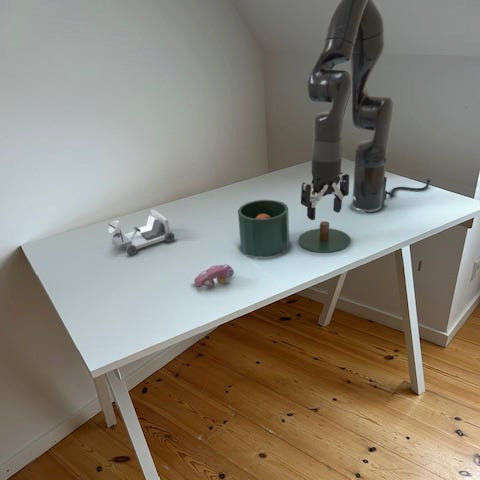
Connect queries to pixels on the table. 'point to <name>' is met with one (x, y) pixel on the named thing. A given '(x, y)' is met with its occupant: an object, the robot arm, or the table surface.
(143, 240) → the toy car
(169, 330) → the table surface
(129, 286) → the table surface
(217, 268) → the video game controller
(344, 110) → the robot arm
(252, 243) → the pot
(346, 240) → the lid
